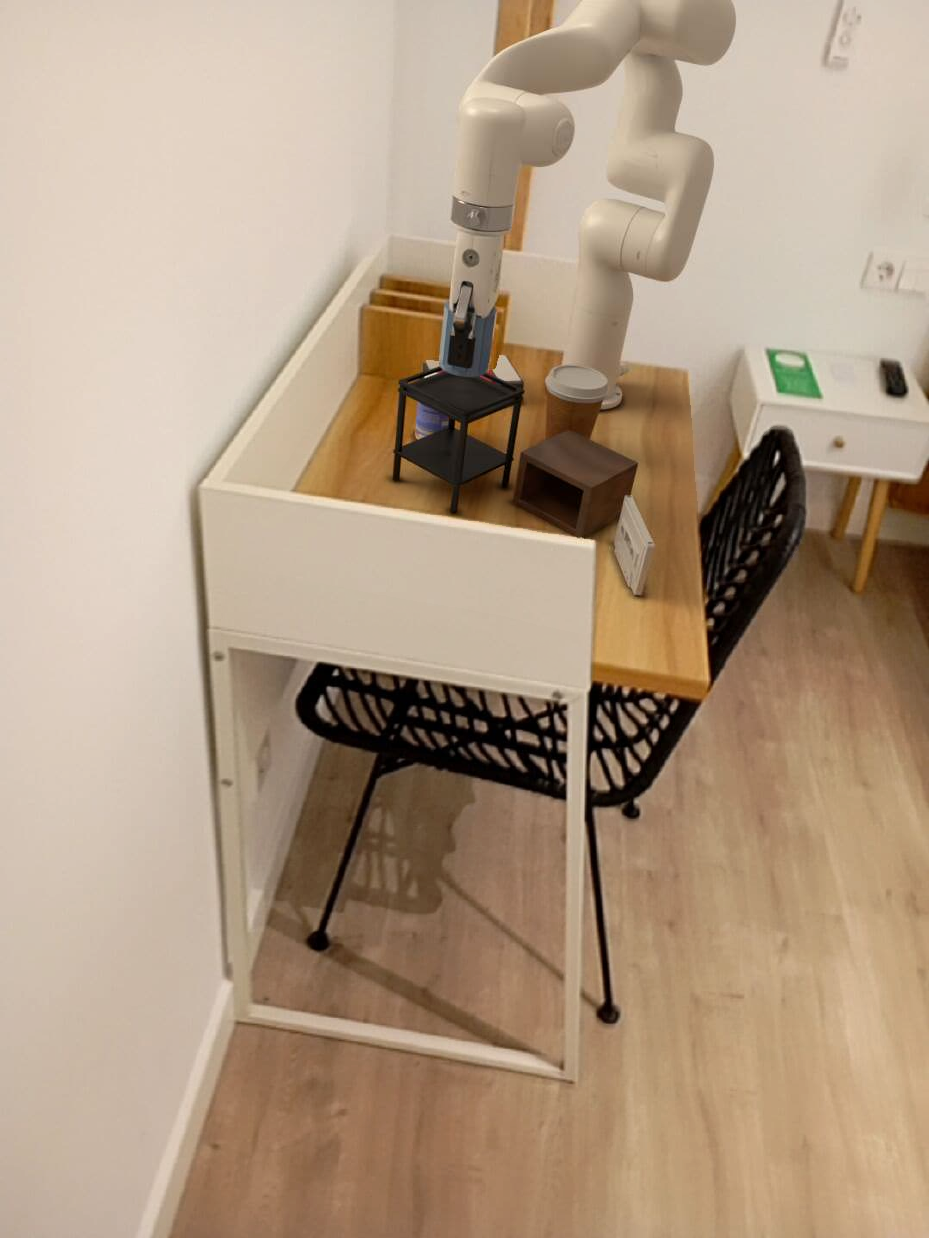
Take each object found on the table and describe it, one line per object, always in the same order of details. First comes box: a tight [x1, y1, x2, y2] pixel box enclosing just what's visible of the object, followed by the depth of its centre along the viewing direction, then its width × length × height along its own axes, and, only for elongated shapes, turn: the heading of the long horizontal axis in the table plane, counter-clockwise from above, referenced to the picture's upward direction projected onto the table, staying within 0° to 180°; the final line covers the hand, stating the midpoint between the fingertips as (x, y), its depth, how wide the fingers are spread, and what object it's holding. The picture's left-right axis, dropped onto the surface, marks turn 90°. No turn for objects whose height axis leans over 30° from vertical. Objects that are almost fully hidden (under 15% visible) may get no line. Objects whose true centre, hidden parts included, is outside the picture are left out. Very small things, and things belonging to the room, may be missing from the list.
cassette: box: [613, 495, 655, 596], centre depth 129 cm, size 12×2×8 cm, turn 6°
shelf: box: [512, 430, 639, 539], centre depth 140 cm, size 11×12×8 cm
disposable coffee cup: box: [544, 364, 609, 441], centre depth 153 cm, size 10×10×12 cm
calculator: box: [420, 354, 525, 398], centre depth 169 cm, size 11×4×15 cm
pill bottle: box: [414, 373, 449, 440], centre depth 151 cm, size 5×5×10 cm
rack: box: [392, 366, 526, 515], centre depth 140 cm, size 12×12×15 cm
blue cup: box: [438, 299, 498, 377], centre depth 131 cm, size 7×7×8 cm
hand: (465, 354), depth 132 cm, fingers closed on blue cup, 6 cm apart
